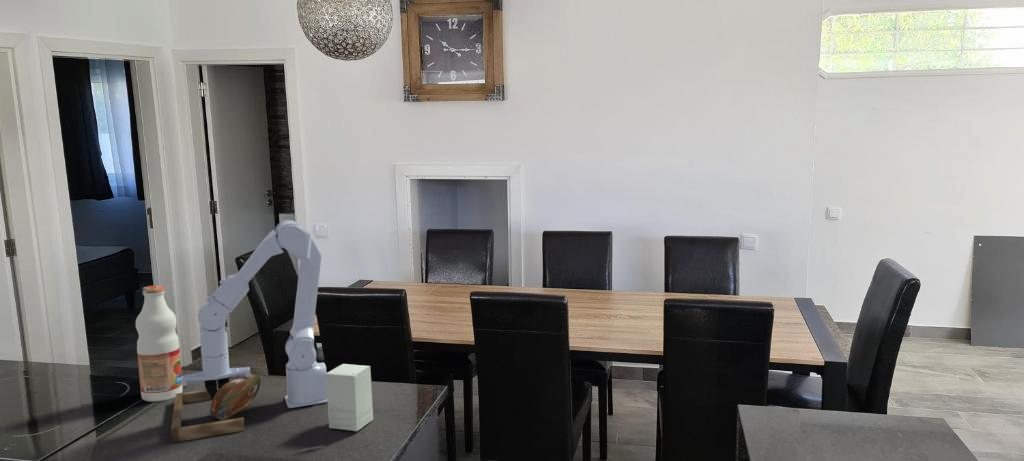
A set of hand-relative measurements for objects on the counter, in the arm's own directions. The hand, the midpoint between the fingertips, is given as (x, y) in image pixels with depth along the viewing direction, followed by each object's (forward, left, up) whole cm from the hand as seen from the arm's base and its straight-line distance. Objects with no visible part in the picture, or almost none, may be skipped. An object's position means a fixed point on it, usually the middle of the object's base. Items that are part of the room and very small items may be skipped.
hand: (219, 410), depth 163 cm
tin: (-2, 0, 0) cm, 2 cm away
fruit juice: (+13, -20, -1) cm, 24 cm away
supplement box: (-27, +19, -1) cm, 33 cm away
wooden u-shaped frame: (+2, 0, -1) cm, 2 cm away
